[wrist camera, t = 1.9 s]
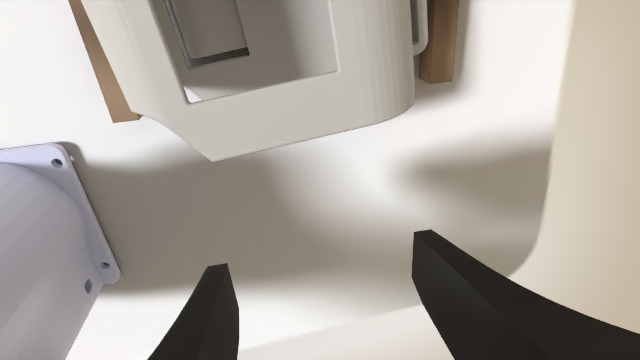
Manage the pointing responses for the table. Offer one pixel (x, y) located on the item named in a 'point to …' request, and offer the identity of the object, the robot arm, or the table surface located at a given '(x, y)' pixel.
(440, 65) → the rail channel
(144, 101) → the cable organizer
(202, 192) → the table surface
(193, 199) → the table surface
